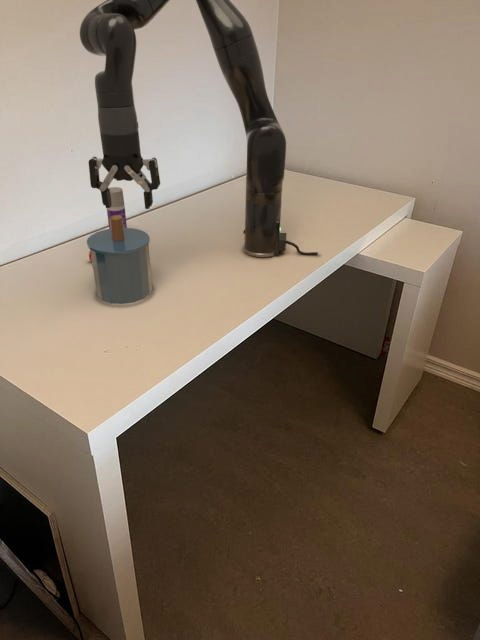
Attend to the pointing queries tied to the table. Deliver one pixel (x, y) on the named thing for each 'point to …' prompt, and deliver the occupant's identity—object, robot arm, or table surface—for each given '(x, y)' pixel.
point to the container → (117, 205)
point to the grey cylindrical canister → (122, 276)
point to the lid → (118, 239)
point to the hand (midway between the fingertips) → (128, 207)
